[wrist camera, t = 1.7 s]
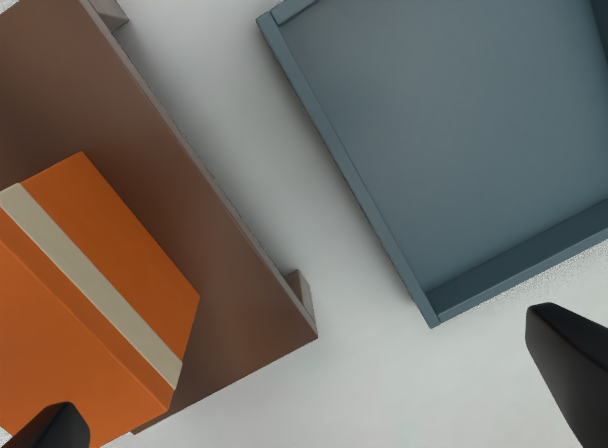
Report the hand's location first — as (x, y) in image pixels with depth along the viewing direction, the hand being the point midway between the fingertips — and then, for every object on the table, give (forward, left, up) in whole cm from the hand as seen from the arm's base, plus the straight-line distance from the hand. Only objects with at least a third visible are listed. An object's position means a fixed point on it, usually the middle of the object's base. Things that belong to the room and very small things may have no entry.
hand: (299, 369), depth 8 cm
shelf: (-7, +2, -13) cm, 15 cm away
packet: (-7, +2, -9) cm, 11 cm away
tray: (+9, -2, -13) cm, 16 cm away
